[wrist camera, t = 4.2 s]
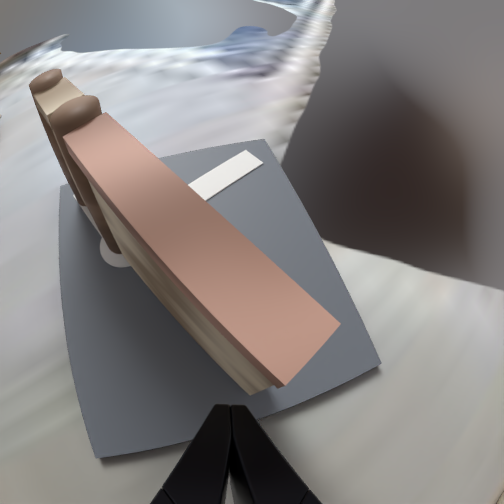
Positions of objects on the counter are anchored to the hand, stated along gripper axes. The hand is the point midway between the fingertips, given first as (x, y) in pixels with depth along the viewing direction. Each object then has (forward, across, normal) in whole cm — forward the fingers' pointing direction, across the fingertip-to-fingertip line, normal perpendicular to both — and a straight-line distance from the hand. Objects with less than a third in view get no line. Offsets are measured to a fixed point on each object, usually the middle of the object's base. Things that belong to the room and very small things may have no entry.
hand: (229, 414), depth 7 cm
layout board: (+10, +2, -1) cm, 11 cm away
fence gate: (+8, +3, 0) cm, 9 cm away
